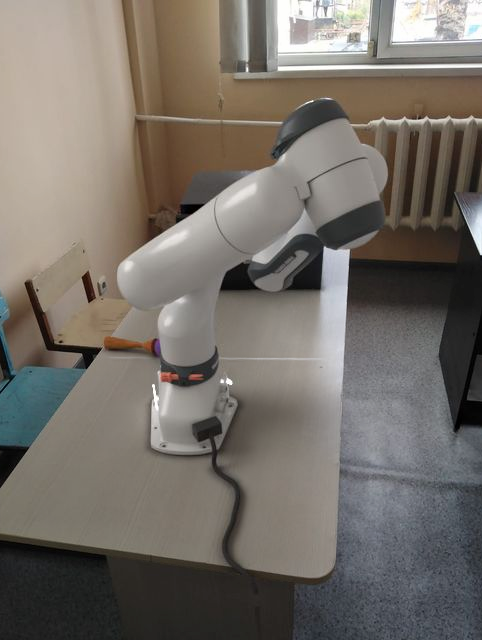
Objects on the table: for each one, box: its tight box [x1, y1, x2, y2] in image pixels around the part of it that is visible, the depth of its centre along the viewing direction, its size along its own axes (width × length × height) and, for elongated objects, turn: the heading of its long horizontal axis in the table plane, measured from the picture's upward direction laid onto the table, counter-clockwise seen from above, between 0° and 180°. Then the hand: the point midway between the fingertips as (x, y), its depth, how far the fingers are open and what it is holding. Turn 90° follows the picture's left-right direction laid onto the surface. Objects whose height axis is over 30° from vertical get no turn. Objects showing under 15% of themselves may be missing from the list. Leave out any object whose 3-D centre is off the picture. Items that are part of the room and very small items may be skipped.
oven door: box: [175, 213, 325, 291], centre depth 151 cm, size 7×40×26 cm, turn 85°
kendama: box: [103, 335, 161, 358], centre depth 135 cm, size 6×6×20 cm
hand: (249, 260), depth 142 cm, fingers closed
